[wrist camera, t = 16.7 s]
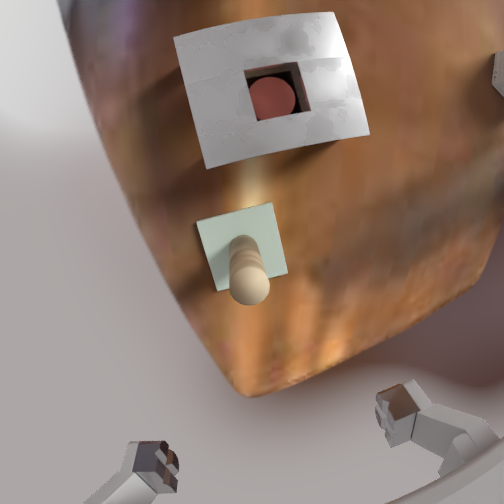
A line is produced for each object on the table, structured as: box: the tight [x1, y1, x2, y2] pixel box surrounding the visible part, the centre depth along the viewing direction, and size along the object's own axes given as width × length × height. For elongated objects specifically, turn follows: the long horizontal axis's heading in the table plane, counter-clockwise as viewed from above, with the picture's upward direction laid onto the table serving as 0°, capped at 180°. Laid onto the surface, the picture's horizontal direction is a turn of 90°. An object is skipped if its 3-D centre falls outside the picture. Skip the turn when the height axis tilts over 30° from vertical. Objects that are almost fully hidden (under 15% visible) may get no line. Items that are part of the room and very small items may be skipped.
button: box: [249, 77, 295, 121], centre depth 26 cm, size 4×4×3 cm
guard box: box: [173, 12, 370, 169], centre depth 24 cm, size 14×12×7 cm
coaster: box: [196, 202, 288, 291], centre depth 32 cm, size 8×8×1 cm
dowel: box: [229, 235, 270, 305], centre depth 27 cm, size 3×3×10 cm
